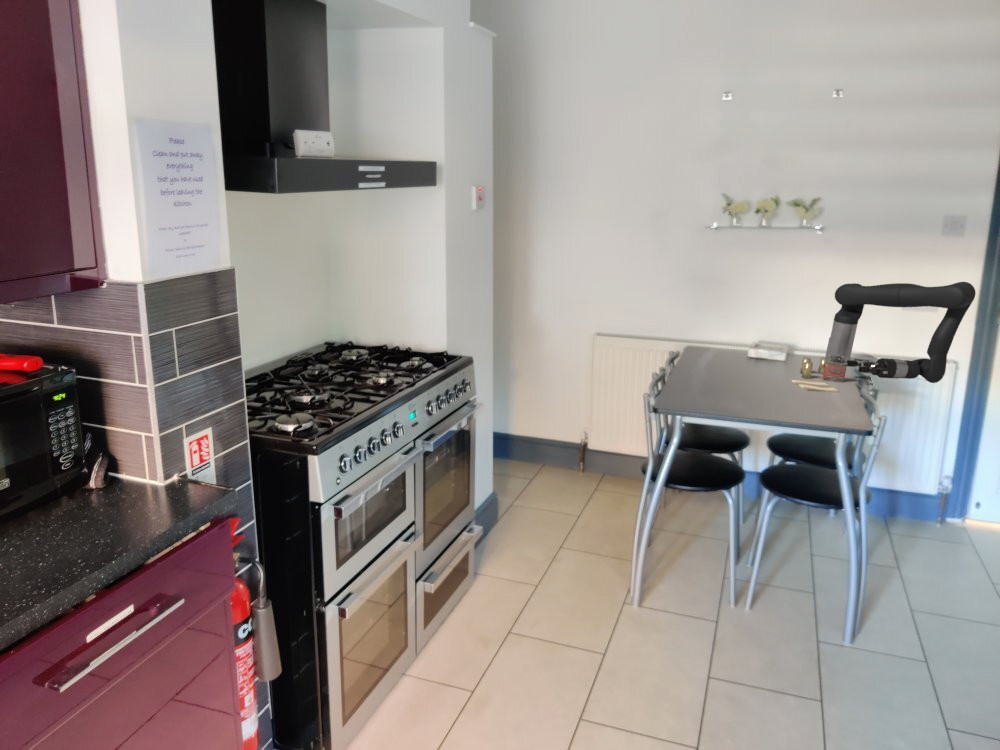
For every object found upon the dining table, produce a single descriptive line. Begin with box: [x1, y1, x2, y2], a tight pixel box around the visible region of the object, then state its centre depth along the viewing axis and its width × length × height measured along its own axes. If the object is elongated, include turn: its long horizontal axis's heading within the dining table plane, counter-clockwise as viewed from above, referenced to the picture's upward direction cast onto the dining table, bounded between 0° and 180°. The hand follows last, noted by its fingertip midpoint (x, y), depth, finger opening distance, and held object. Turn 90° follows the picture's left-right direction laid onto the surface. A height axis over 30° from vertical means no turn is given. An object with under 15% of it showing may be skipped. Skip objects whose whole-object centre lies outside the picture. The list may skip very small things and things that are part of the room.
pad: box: [791, 379, 839, 393], centre depth 300 cm, size 12×12×1 cm
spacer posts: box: [799, 356, 829, 380], centre depth 316 cm, size 11×14×6 cm
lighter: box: [821, 355, 848, 383], centre depth 310 cm, size 8×3×10 cm, turn 84°
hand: (852, 366), depth 311 cm, fingers open, 8 cm apart
